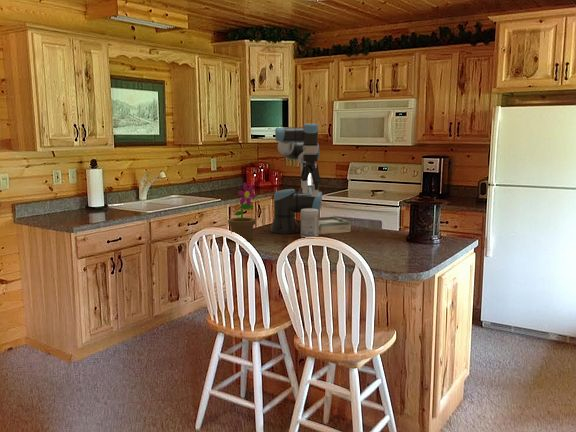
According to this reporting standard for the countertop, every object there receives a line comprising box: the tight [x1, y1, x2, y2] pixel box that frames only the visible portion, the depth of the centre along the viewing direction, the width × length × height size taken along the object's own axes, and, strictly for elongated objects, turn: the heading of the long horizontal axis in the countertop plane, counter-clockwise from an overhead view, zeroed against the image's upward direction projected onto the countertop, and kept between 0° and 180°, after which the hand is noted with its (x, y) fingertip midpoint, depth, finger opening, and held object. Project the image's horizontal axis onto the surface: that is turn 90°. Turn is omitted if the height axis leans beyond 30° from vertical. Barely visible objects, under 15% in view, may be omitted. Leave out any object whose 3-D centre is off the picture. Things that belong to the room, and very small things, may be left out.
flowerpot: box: [227, 182, 257, 242], centre depth 280 cm, size 14×14×30 cm
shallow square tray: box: [319, 215, 352, 235], centre depth 307 cm, size 20×21×6 cm
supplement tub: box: [300, 208, 320, 238], centre depth 287 cm, size 10×10×15 cm
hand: (310, 194), depth 284 cm, fingers open, 13 cm apart
